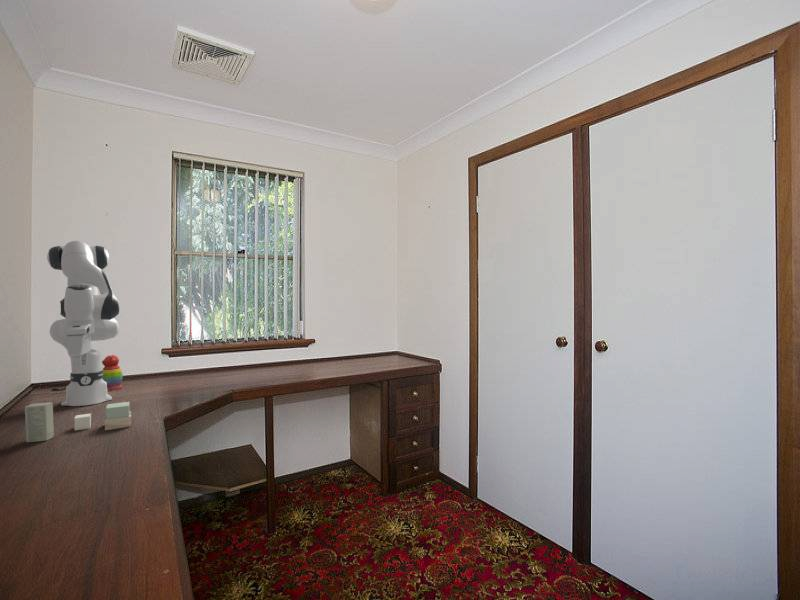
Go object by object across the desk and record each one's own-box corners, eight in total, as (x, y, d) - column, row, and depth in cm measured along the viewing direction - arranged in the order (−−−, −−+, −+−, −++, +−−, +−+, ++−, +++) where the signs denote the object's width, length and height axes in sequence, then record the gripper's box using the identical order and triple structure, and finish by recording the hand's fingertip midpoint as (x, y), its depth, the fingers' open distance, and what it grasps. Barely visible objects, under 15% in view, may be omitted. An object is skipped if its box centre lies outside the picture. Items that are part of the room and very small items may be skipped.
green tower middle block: (107, 414, 158) (107, 404, 158) (129, 411, 162) (129, 401, 162) (106, 419, 152) (105, 408, 152) (129, 416, 156) (128, 405, 156)
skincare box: (54, 436, 144) (54, 401, 144) (46, 441, 140) (46, 405, 140) (33, 438, 143) (32, 403, 143) (24, 442, 139) (24, 406, 139)
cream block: (76, 427, 155) (75, 415, 155) (91, 425, 157) (90, 413, 157) (74, 430, 151) (74, 418, 151) (90, 428, 154) (89, 416, 154)
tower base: (106, 425, 158) (105, 414, 158) (131, 421, 162) (131, 411, 162) (104, 431, 151) (104, 420, 151) (131, 427, 156) (131, 416, 156)
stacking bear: (103, 387, 223) (103, 354, 222) (125, 386, 226) (125, 353, 225) (96, 392, 212) (95, 357, 212) (119, 390, 215) (118, 356, 215)
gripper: (75, 328, 162) (76, 364, 162) (62, 330, 144) (63, 370, 144) (95, 327, 165) (96, 362, 165) (85, 329, 147) (86, 368, 147)
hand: (80, 366), depth 154 cm, fingers open, 8 cm apart
